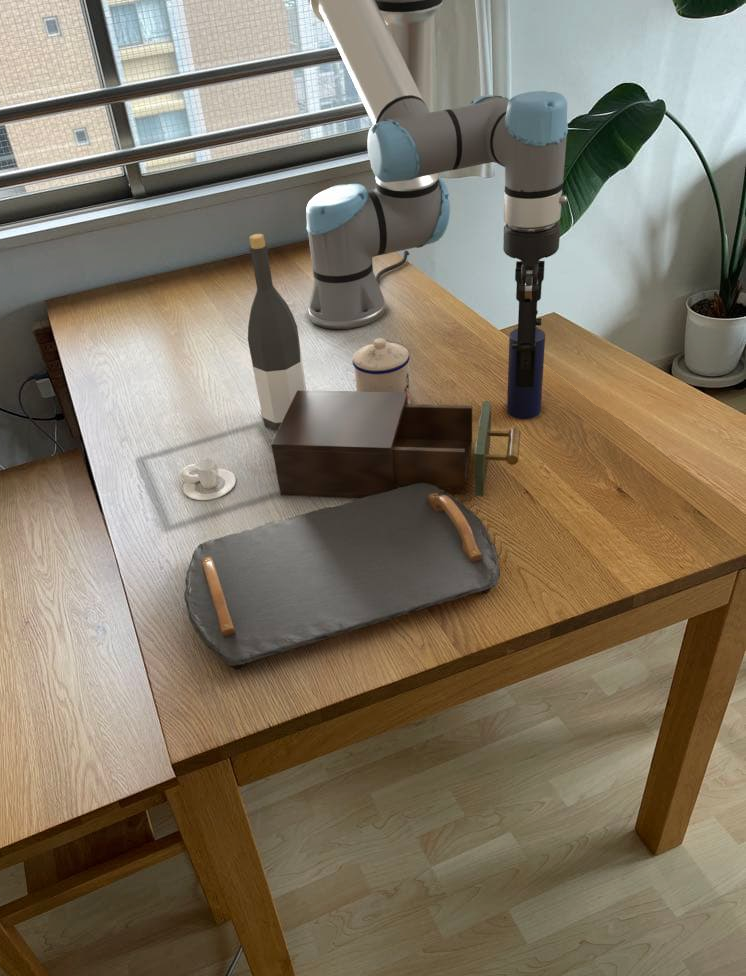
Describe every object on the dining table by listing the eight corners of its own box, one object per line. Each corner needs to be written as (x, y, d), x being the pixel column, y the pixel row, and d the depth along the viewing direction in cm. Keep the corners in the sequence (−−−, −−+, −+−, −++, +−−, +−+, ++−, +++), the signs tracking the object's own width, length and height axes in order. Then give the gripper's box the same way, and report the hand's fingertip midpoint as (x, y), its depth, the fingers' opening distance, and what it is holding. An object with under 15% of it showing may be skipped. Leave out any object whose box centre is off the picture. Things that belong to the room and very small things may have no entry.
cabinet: (410, 442, 125) (407, 392, 120) (394, 500, 114) (390, 448, 109) (304, 439, 129) (297, 390, 123) (280, 495, 118) (270, 444, 113)
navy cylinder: (507, 402, 132) (510, 326, 123) (541, 402, 130) (545, 326, 122) (506, 419, 128) (508, 342, 119) (540, 419, 127) (544, 342, 118)
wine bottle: (256, 414, 137) (221, 234, 118) (300, 400, 139) (273, 221, 120) (272, 436, 131) (238, 251, 112) (318, 422, 133) (292, 237, 114)
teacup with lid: (418, 413, 131) (415, 347, 124) (363, 424, 131) (357, 358, 123) (399, 379, 141) (395, 316, 133) (348, 389, 140) (341, 326, 133)
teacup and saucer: (177, 478, 125) (171, 456, 122) (226, 463, 127) (221, 441, 124) (190, 508, 118) (184, 486, 116) (243, 492, 120) (238, 469, 118)
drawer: (520, 442, 121) (522, 401, 116) (516, 497, 110) (517, 455, 106) (387, 438, 125) (384, 399, 121) (371, 491, 115) (367, 450, 111)
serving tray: (208, 691, 91) (196, 653, 87) (176, 565, 108) (165, 529, 104) (523, 593, 98) (526, 554, 94) (446, 489, 115) (445, 453, 111)
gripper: (560, 246, 103) (549, 407, 118) (561, 199, 116) (551, 348, 131) (499, 248, 105) (496, 406, 119) (507, 201, 118) (503, 348, 133)
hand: (525, 376), depth 125 cm, fingers closed on navy cylinder, 5 cm apart
